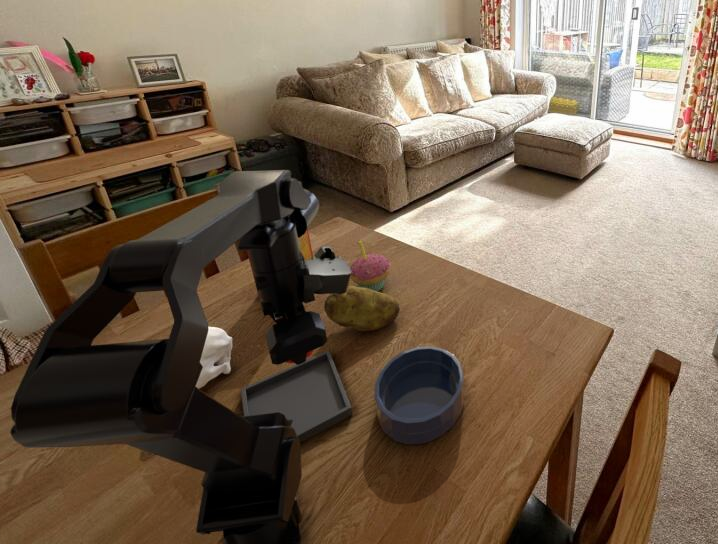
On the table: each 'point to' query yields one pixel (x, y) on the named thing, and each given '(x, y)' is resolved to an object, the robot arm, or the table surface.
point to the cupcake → (370, 270)
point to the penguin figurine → (215, 355)
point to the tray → (301, 396)
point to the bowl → (419, 394)
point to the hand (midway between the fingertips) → (297, 349)
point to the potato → (361, 308)
